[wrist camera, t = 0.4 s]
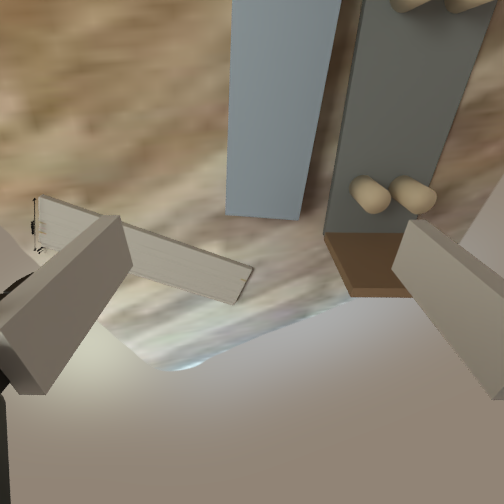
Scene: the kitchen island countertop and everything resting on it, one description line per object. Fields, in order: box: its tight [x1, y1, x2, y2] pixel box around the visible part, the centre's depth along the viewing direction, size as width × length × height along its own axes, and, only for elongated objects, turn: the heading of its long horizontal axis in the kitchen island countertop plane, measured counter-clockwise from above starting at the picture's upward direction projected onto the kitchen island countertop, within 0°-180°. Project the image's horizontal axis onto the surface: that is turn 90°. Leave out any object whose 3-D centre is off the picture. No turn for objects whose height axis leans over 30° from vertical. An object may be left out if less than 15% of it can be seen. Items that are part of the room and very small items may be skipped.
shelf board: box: [225, 0, 341, 220], centre depth 27 cm, size 9×26×4 cm, turn 175°
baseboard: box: [31, 194, 252, 305], centre depth 40 cm, size 30×3×10 cm
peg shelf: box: [323, 0, 498, 298], centre depth 24 cm, size 12×33×13 cm, turn 0°
